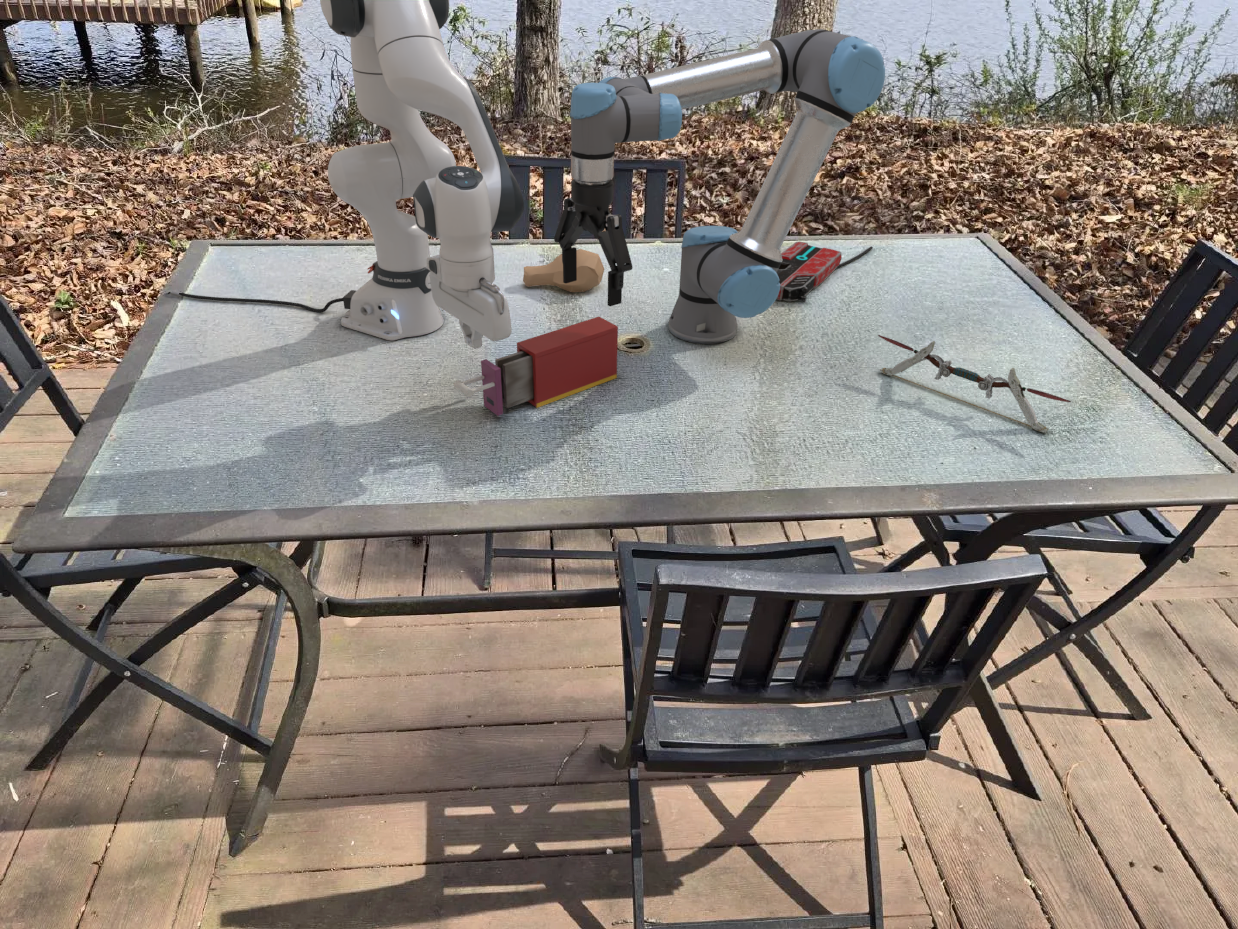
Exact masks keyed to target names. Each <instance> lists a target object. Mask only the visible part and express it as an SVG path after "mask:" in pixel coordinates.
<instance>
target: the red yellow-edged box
mask: <svg viewBox="0 0 1238 929" xmlns="http://www.w3.org/2000/svg"><path fill="white" fill-rule="evenodd" d="M618 337H619V326H618V325H616V324H614V323H613V322H611V321H608V320H607V319H604V318H603V317H601V316H596V317H592V318H590V319H586V320H583V321H581V322H577V323H574V324H571V325H568V326H565V327H562V328H558V329H555V330H552V331H549V332H546V333H544V334H540V335H537V336H533V337H531V338H527V339H524V340H521V341H517V342H516V353H517V352H520V351H525V352H526V353H528V354H529V355H531V356H533V383H534V399H532V400H529V401H527V403H529V404H531V405H532V406H533V407H535V408H536V409H538V408H541V407H543V406H546V405H548V404H551V403H555V402H556V401H559V400H562V399H565V398H568V397H570V396H572V395H575V394H578V393H580V392H584V391H586V390H588V389H591V388H594V387H596V386H600V385H602V384H605V383H607V382H610V381H612V380H616V379H617V378H618V344H619V342H618V341H619V340H618V339H619V338H618Z"/></svg>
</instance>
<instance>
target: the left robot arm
mask: <svg viewBox="0 0 1238 929" xmlns="http://www.w3.org/2000/svg"><path fill="white" fill-rule="evenodd" d="M319 2H320V4H319V5H320V8H321V11H322V14H323V16H324V18H325V20H326V21H327V25H328V27H329V28H330V29H331V30H332V31H333V32H335V34H337V35H340V36H343V37H348V38H350V59H351V68H352V77H353V83H354V84H353V85H354V92H355V98H356V99H355V100H356V107H357V109H358V111H359V113H360V114H361V116H362V117H363V118H364V119H365V120H366V121H368V122H371V123H372V124H374V125H377V126H378V127H382V128H384V129H387V130H388V131H389V133H390V138H391V140H390V141H387V142H378V143H370V144H360V145H354V146H351V147H347V148H345V149H341V150H338V151H336V152H334V153H333V155H332V156H331V157H330V159H329V161H328V164H327V179H328V182H329V186H330V188H331V189H332V192H334V194H335V195H336V196H337V197H338V198H339V199H340V200H341V201H342V202H344V203H346V204H348V205H350V206H351V207H353V208H354V209H355V210H356V211H358V212H359V213H360V214H361V216H362V217H363V218H364V220H365V221H366V222H367V224H368V226H369V228H370V231H371V235H372V240H373V243H374V248H375V253H376V254H375V255H376V261H374V262H373V263H372V265H371V266H369V267H368V268H367V274H370V273H372V277H371V278H370V279H369V280H367V282H365V283H364V284H363V285H362V286H360V287H359V288H358V289H356V290H354V289H351V290H349V291H348V292H347V293H346V294H345V295H344V296H342V297H340V298H334V299H332V300H330V301H328V302H327V303H326V304H325V306H324V307H323V308H314V307H311V306H308V305H306V304H303V303H299V302H292V301H284V300H276V299H259V298H242V297H241V298H240V297H239V298H238V297H218V296H207V295H206V296H205V295H198V294H190V293H185V292H182V293H179V294H178V295H179V296H181V297H185V298H189V299H196V300H205V301H216V302H232V303H233V302H235V303H254V304H255V303H257V304H272V305H283V306H291V307H296V308H301V309H304V310H307V311H310V312H314V313H324V312H326V311H328V309H329V308H330V307H331V305H333V304H336V303H341V302H342V303H343V307H344V310H347V311H346V313H344V314H343V316H342V317H341V320H340V324H341V326H342V327H344V328H347V329H350V330H354V331H357V332H360V333H364V334H367V335H370V336H373V337H377V338H380V339H383V340H387V341H396V340H397V341H398V340H401V339H404V338H412V337H420V336H423V335H427V334H430V333H431V334H432V333H434V332H436V331H437V330H439V329H441V327H442V326H443V325H444V323H445V320H444V317H443V314H442V312H441V310H440V309H442V311H444V312H446V313H447V314H449V315H450V316H452V317H454V318H455V319H457V320H458V324H459V327H460V329H461V331H462V334H463V339H464V343H465V344H466V345H468V346H470V347H471V348H472V349H474V350H477V349H480V348H482V347H483V337H485V338H486V339H488V340H490V341H492V342H494V343H495V342H498V341H502V340H505V339H508V338H510V337H511V335H512V332H513V331H512V330H513V329H512V328H513V327H512V321H511V320H512V319H511V312H510V306H509V302H508V298H507V297H506V295H505V294H504V293H503V292H501V289H500V287H499V286H498V285H497V284H495V283H494V282H495V280H496V272H495V254H494V247H493V244H492V241H491V235H492V234H491V233H501V232H503V233H504V232H509V231H511V230H512V229H513V228H514V227H515V226H516V225H517V223H518V222H519V221H520V219H521V218H522V216H523V214H524V211H525V210H524V209H525V204H524V203H525V202H524V197H523V193H522V190H521V187H520V184H519V183H518V181H517V179H516V177H515V175H514V174H513V172H512V169H511V168H510V166H509V164H508V162H507V160H506V157H505V154H504V152H503V150H502V148H501V145H500V143H499V139H498V138H497V135H496V132H495V130H494V127H493V125H492V123H491V120H490V118H489V116H488V113H487V110H486V109H485V106H484V103H483V101H482V100H481V97H480V95H479V92H478V91H477V89H476V87H475V85H474V83H473V82H472V81H471V80H470V79H468V78H466V77H464V76H462V74H461V73H459V72H458V70H457V69H456V68H455V67H454V65H453V64H452V62H451V60H450V58H449V57H448V54H447V52H446V49H445V45H444V42H443V38H442V34H441V31H440V30H442V28H443V27H444V26H445V25H446V23H447V22H448V19H449V16H450V15H449V14H450V0H319ZM420 111H421V112H425V113H429V114H433V115H435V116H439V117H441V118H444V119H447V120H448V121H450V122H452V123H454V124H455V125H456V126H458V127H459V128H460V129H461V130H462V132H463V134H464V135H465V137H466V140H467V142H468V144H469V147H470V150H471V152H472V154H473V157H474V159H475V161H476V164H477V166H478V169H479V170H478V169H476V168H473V167H470V166H466V165H457V162H456V158H455V155H454V153H453V152H452V150H451V149H450V147H449V146H448V145H447V144H446V143H444V142H443V141H442V140H440V139H439V138H437V137H436V136H435V135H434V134H433V133H432V131H430V129H428V127H427V126H426V124H425V123H424V121H423V119H422V116H421V114H420ZM411 198H412V200H413V210H414V214H413V215H412V214H410V213H408V212H404V211H402V210H399V209H398V207H397V201H399V200H402V199H411ZM429 236H430V237H431V238H433V239H439V243H440V246H439V252H438V253H439V254H436V255H432V256H431V253H430V243H429Z"/></svg>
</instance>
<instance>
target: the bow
mask: <svg viewBox="0 0 1238 929" xmlns="http://www.w3.org/2000/svg"><path fill="white" fill-rule="evenodd" d="M877 336H878V337H879V338H881V339H883V340H884V341H886V342H888V343H890V344H892V345H895V346H897V347H899V348H902V349H904V350H907V351H910V352H913V354H914V356H912V357H908V358H906V359H904V360H902V361H900V362H899V363H897V364H896V365H895V366H893V367H891V368H890V367H882V368H880V369H879V371H880V373H882V374H883V375H886V376H892V377H895V378H898V379H901V380H902V381H906V382H909V383H912V384H914V385H917V386H920V387H922V388H925V389H928V390H931V391H933V392H935V393H939V394H941V395H944V396H946V397H949V398H952V399H955V400H956V401H960V402H963V403H966V404H968V405H971V406H973V407H975V408H979V409H982V410H984V411H986V412H989V413H992V414H995V415H998V416H1000V417H1003V418H1006V419H1008V420H1012V421H1014V422H1017V423H1019V424H1022V425H1024V426H1028V427H1030V428H1032V429H1033V430H1035V431H1037V432H1040V433H1042V434H1043V433H1044V434H1045V433H1047V432H1048V431H1049V430H1050V428H1048V427H1047V426H1045V425H1044V424H1042V423H1041V422H1040V421H1039V420H1038V417H1037V415H1036V411H1035V410H1034V408H1033V406H1032V405H1031V403H1030V401H1029V399H1028V398H1027V397H1026V395H1025V394H1024V392H1025V391H1027V392H1028V393H1031V394H1033V395H1037V396H1040V397H1043V398H1047V399H1050V400H1054V401H1057V402H1058V401H1059V402H1065V403H1071V402H1072V400H1069V399H1066V398H1063V397H1060V396H1059V395H1054V394H1052V393H1048V392H1045V391H1042V390H1037V389H1034V388H1029V387H1028V388H1027V387H1025V386H1022V384H1021V380H1020V379H1019V377H1018V376H1017V372H1016V369H1015V368H1014V367H1011V368H1010V369H1009V372H1008V376H1007V379H1006V378H1003V377H1001V376H997V377H995V376H993V375H991V373H988V374H986V376H984V377H982V376H981V375H980V374H978V373H977V372H975V371H973V370H969V369H966V368H963V367H953V366H951V365H952V360H944V359H943V358H942V357H941V356H940V355H938V354H932V352H933V351H934V349H935V345H936V341H935V340H932V341H931V342H930V343H929V344H928V345H927V346H925V347H922V348H921V349H920V350H918V349H914V348H913V347H911V346H909V345H907V344H905V343H902V342H901V341H898V340H895V339H892V338H889V337H886V336H882V335H880V334H877ZM923 361H928V362H930V363H931V364H932V365H933V366H934V367H936V368H937V369H938V370H937V373H935V377H934V380H936V381H940V380H941V379H942V377H944V378H948V377H950V376H951V375H954V376H957V377H960V378H962V379H965V380H968V381H970V382H973V383H976V384H977V383H978V384H977V387H978V389H979V390H981V391H986V392H985V398H986V399H989V400H990V399H991V398H992V397H993V393H994V392H993V389H994V388H995V389H996V388H997V389H999V388H1001V389H1002V388H1006V389H1007V388H1008V390H1009V391H1010V392H1011V394H1012V395H1013V397H1014V399H1015V401H1016V402H1017V405H1018V408H1019V409H1020V411H1021V413H1022V414H1023V416H1024V419H1025V420H1026V422H1027V423H1025V422H1022V421H1019V420H1016V419H1014V418H1011V417H1010V416H1006V415H1003V414H1000V413H997V412H995V411H993V410H991V409H987V408H984V407H982V406H979V405H976V404H973V403H970V402H968V401H966V400H962V399H961V398H957V397H955V396H951V395H949V394H947V393H944V392H942V391H941V392H940V391H938V390H935V389H932V388H930V387H927V386H924V385H922V384H919V383H916V382H914V381H911V380H908V379H905V378H903V377H900V376H898V375H897V374H900V373H903V372H904V371H906V370H908V369H909V368H911V367H912V366H914V365H917V364H919V363H922V362H923Z"/></svg>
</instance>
